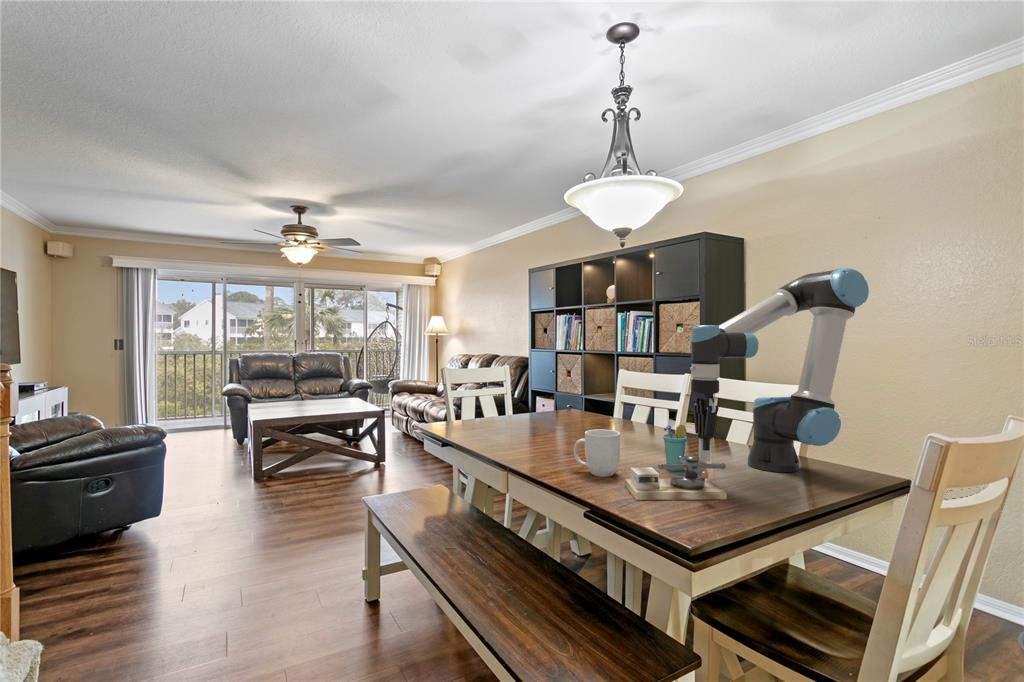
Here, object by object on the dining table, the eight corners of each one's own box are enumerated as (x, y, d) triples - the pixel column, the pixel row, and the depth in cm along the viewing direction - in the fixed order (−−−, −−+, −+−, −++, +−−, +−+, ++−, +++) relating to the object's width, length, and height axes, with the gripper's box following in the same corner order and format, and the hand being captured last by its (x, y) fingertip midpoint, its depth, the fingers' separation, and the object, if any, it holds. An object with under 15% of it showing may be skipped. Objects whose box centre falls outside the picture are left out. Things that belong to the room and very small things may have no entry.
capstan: (711, 474, 144) (711, 449, 144) (742, 494, 125) (742, 466, 125) (647, 474, 143) (647, 449, 143) (669, 495, 124) (669, 466, 124)
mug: (568, 474, 152) (568, 433, 152) (579, 466, 162) (579, 427, 161) (615, 481, 145) (615, 437, 145) (624, 471, 155) (624, 430, 155)
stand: (707, 485, 140) (707, 464, 140) (726, 499, 128) (726, 476, 128) (625, 486, 140) (624, 465, 140) (636, 499, 128) (636, 477, 128)
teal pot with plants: (677, 476, 149) (677, 427, 149) (653, 472, 154) (653, 425, 154) (693, 467, 160) (693, 421, 160) (670, 463, 165) (670, 419, 165)
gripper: (683, 377, 146) (683, 455, 146) (701, 380, 133) (700, 466, 133) (708, 377, 146) (707, 455, 146) (728, 380, 133) (727, 466, 133)
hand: (704, 460), depth 140 cm, fingers closed
